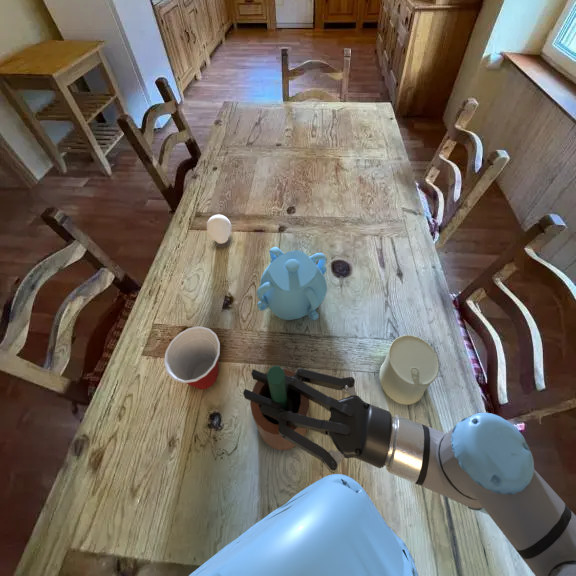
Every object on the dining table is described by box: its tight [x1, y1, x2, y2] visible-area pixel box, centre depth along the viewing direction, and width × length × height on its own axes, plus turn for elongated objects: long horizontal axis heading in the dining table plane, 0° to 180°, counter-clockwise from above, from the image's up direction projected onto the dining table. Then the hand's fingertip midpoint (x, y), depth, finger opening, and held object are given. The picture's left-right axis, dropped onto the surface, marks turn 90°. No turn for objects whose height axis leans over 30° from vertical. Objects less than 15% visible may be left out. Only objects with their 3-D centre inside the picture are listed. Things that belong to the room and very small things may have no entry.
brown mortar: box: [249, 367, 310, 451], centre depth 63 cm, size 10×10×13 cm
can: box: [378, 334, 440, 406], centre depth 67 cm, size 9×9×12 cm
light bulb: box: [206, 213, 233, 248], centre depth 96 cm, size 7×7×11 cm
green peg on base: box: [267, 365, 293, 424], centre depth 58 cm, size 4×4×22 cm
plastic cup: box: [163, 325, 221, 390], centre depth 70 cm, size 11×11×12 cm
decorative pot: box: [256, 246, 328, 321], centre depth 82 cm, size 16×16×14 cm
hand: (249, 383), depth 58 cm, fingers closed on green peg on base, 2 cm apart
